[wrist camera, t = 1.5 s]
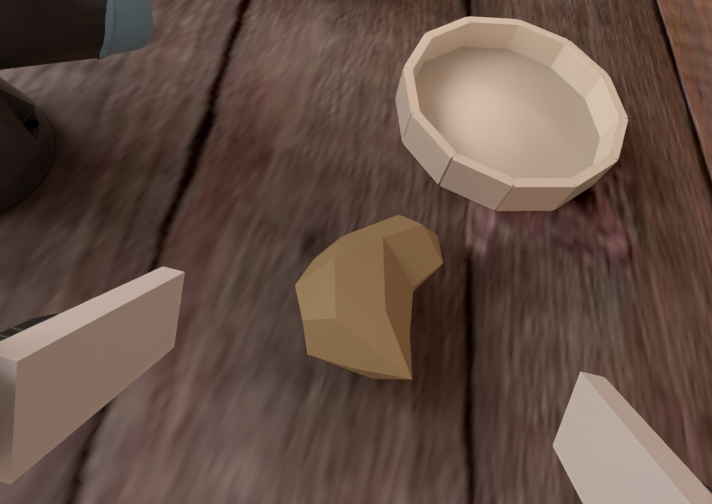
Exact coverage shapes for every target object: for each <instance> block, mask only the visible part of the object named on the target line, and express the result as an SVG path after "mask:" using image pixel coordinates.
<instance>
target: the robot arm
mask: <svg viewBox="0 0 712 504" xmlns="http://www.w3.org/2000/svg"><path fill="white" fill-rule="evenodd" d="M152 35H153V18H152V10H151V4H150V0H0V70H2V69H11V68H19V67H27V66H35V65H44V64H52V63H60V62H69V61H77V60H85V59H93V58H97V59H98V60H100V59H102V58H106V57H107V56H108V55H112V54H117V53H123V52H128V51H134V50H139V49H140V48H143V47H144V46H145V45H146V44H147V43H148V42H149V41H150V39H151V37H152ZM54 153H55V137H54V133H53V130H52V128H51V126H50V124H49V122H48V121H47V119H46V118H45V117H44V115H43V114H42V112H41V111H40V110H39V108H38V107H37V106H36V104H35V103H34V102H33V101H32V100H31V99H30V98H28V97H27V96H26V95H25V94H24V93H22V92H21V91H19V90H18V89H16V88H15V87H14V86H12V85H11V84H9V83H8V82H6V81H5V80H4V79H2V78H1V77H0V212H2V211H4V210H6V209H7V208H9V207H11V206H12V205H14V204H16V203H17V202H19V201H20V200H21V199H23V198H24V197H25V196H26V195H28V194H29V193H30V192H31V191H32V190H33V189H34V188H35V187H36V186H37V185H38V184H39V183H40V181H41V180H42V179H43V177H44V176H45V175H46V173H47V171H48V169H49V168H50V165H51V163H52V160H53V157H54ZM184 274H185V272H183V271H179V270H175V269H171V268H167V267H161V268H158V269H156V270H154V271H152V272H150V273H148V274H145V275H143V276H141V277H139V278H137V279H135V280H132V281H130V282H128V283H126V284H124V285H121V286H119V287H117V288H115V289H113V290H111V291H108V292H106V293H104V294H102V295H100V296H98V297H95V298H93V299H91V300H89V301H87V302H85V303H82V304H80V305H78V306H76V307H74V308H72V309H69V310H67V311H65V312H63V313H61V314H59V315H58V314H52V315H48V316H43V317H38V318H34V319H31V320H29V321H26V322H24V323H22V324H19V325H17V326H15V327H14V329H11V328H10V329H8V330H6V331H4V332H1V333H0V482H2V483H6V484H12V483H13V482H14V481H15V480H16V479H18V478H19V477H20V476H21V475H22V474H24V473H25V472H26V471H27V470H28V469H30V468H31V467H32V466H33V465H34V464H35V463H37V462H38V461H39V460H40V459H41V458H43V457H44V456H45V455H46V454H47V453H49V452H50V451H51V450H52V449H53V448H55V447H56V446H57V445H58V444H59V443H61V442H62V441H63V440H64V439H65V438H66V437H68V436H69V435H70V434H71V433H72V432H74V431H75V430H76V429H77V428H78V427H80V426H81V425H82V424H83V423H84V422H86V421H87V420H88V419H89V418H90V417H92V416H93V415H94V414H95V413H96V412H98V411H99V410H100V409H101V408H102V407H103V406H105V405H106V404H107V403H108V402H109V401H111V400H112V399H113V398H114V397H115V396H117V395H118V394H119V393H120V392H121V391H123V390H124V389H125V388H126V387H127V386H129V385H130V384H131V383H132V382H133V381H134V380H136V379H137V378H138V377H139V376H140V375H142V374H143V373H144V372H145V371H146V370H148V369H149V368H150V367H151V366H152V365H154V364H155V363H156V362H157V361H158V360H160V359H161V358H162V357H163V356H164V355H165V354H167V353H168V352H169V351H170V350H171V349H173V348H174V344H175V337H176V330H177V323H178V316H179V309H180V302H181V295H182V288H183V281H184ZM553 447H554V449H555V451H556V453H557V455H558V457H559V459H560V461H561V463H562V465H563V467H564V468H565V470H566V472H567V474H568V476H569V478H570V480H571V482H572V484H573V486H574V488H575V490H576V491H577V493H578V495H579V497H580V499H581V501H582V503H583V504H712V489H711V488H709V487H708V486H707V485H705V484H704V483H703V482H701V481H700V480H699V479H698V478H697V477H696V476H695V475H694V474H693V473H692V472H691V471H690V470H689V469H688V468H687V466H686V465H685V464H684V463H683V462H682V461H681V460H680V459H679V458H678V457H677V456H676V454H675V453H674V452H673V451H672V450H671V449H670V448H669V447H668V446H667V445H666V444H665V443H664V441H663V440H662V439H661V438H660V437H659V436H658V435H657V434H656V433H655V432H654V431H653V429H652V428H651V427H650V426H649V425H648V424H647V423H646V422H645V421H644V420H643V419H642V417H641V416H640V415H639V414H638V413H637V412H636V411H635V410H634V409H633V408H632V407H631V405H630V404H629V403H628V402H627V401H626V400H625V399H624V398H623V397H622V396H621V395H620V394H619V392H618V391H617V390H616V389H615V388H614V387H613V386H612V385H611V384H610V383H609V382H608V380H607V379H606V378H605V377H601V376H597V375H593V374H589V373H585V372H581V371H580V374H579V377H578V379H577V382H576V385H575V387H574V390H573V393H572V395H571V398H570V401H569V403H568V406H567V409H566V411H565V414H564V417H563V419H562V422H561V425H560V427H559V430H558V433H557V435H556V438H555V441H554V443H553Z"/></svg>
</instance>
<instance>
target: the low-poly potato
mask: <svg viewBox="0 0 712 504" xmlns="http://www.w3.org/2000/svg"><path fill="white" fill-rule="evenodd" d="M442 264H443V260H442V255H441V251H440V246H439V242H438V237H437V235H436V234H435V233H433V232H432V231H431V230H429V229H428V228H427V227H425V226H424V225H422V224H420V223H418V222H415V221H413V220H410V219H408V218H406V217H403V216H401V215H396V216H394V217H391V218H388V219H386V220H383V221H381V222H378V223H375V224H373V225H370V226H367V227H365V228H362V229H360V230H357V231H354V232H352V233H349V234H346V235H344V236H342V237H340V238H339V239H338V240H337V241H336V242H334V243H333V244H332V245H331V246H329V247H328V248H327V249H326V250H325V251H323V252H322V253H321V254H320V255H318V256H317V257H316V258H315V259H314V260H313V261H312V262H311V264H310V265H309V266H308V268H307V269H306V271H305V272H304V273H303V275H302V276H301V278H300V279H299V280H298V282H297V283H296V285H295V288H296V292H297V297H298V302H299V306H300V311H301V316H302V320H303V327H304V334H305V341H306V348H307V354H308V355H311V356H313V357H316V358H318V359H321V360H324V361H326V362H329V363H331V364H334V365H337V366H339V367H342V368H345V369H347V370H350V371H353V372H355V373H358V374H360V375H363V376H366V377H368V378H371V379H409V380H412V366H411V348H410V326H411V312H412V298H413V291H415V290H416V289H417V288H418V287H419V286H420V285H421V284H422V283H423V282H424V281H425V280H426V279H427V278H428V277H429V276H430V275H431V274H433V273H434V272H435V271H436V270H437V269H438V268H439V267H440V266H441V265H442Z"/></svg>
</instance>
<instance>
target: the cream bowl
mask: <svg viewBox="0 0 712 504" xmlns="http://www.w3.org/2000/svg"><path fill="white" fill-rule="evenodd" d="M396 106H397V113H398V119H399V126H400V132H401V139H402V142H403V144H404V145H405V147H406V148H407V149H408V150H409V151H410V152H411V154H412V155H413V156H414V157H415V158H416V160H417V161H418V162H419V163H420V164H421V165H422V167H423V168H424V169H425V170H426V171H427V172H428V174H429V175H430V176H431V177H432V178H433V179H434V181H435V182H436V183H437V184H439V183H440V186H441V187H443V188H446V189H448V190H450V191H452V192H454V193H457V194H459V195H461V196H463V197H465V198H468V199H470V200H472V201H474V202H476V203H478V204H481V205H483V206H485V207H487V208H489V209H492V210H494V211H495V209H496V211H553V210H555V209H557V208H559V207H560V206H562V205H563V204H565V203H566V202H568V201H569V200H571V199H572V198H574V197H576V196H577V195H579V194H580V193H582V192H583V191H585V190H586V189H588V188H590V187H591V186H592V185H593V184H594V183H596V182H597V181H598V180H599V179H600V178H601V177H602V176H603V175H604V174H605V173H606V172H607V171H608V170H609V169H610V168H611V167H612V166H613V165H614V164H615V163H616V162H617V161H618V159H619V155H620V151H621V147H622V143H623V139H624V135H625V131H626V127H627V123H628V117H627V114H626V112H625V110H624V108H623V105H622V103H621V101H620V99H619V96H618V94H617V92H616V89H615V87H614V85H613V83H612V80H611V78H610V76H608V74H607V73H606V72H605V71H604V70H603V69H602V68H600V67H599V66H598V65H597V64H596V63H595V62H594V61H593V60H591V59H590V58H589V57H588V56H587V55H586V54H585V53H583V52H582V51H581V50H580V49H579V48H578V47H577V46H576V45H574V44H573V43H572V42H571V41H568V39H566V38H563V37H561V36H558V35H556V34H553V33H551V32H549V31H546V30H544V29H541V28H539V27H536V26H534V25H531V24H529V23H527V22H524V21H522V20H519V22H518V19H505V18H486V17H468V18H467V17H464V18H462V19H459V20H457V21H454V22H452V23H449V24H447V25H444V26H442V27H439V28H437V29H434V30H432V31H429V32H426V34H424V35H423V37H422V39H421V40H420V42H419V43H418V45H417V47H416V48H415V50H414V51H413V53H412V54H411V56H410V58H409V59H408V61H407V62H406V64H405V66H404V67H403V71H402V75H401V79H400V83H399V87H398V91H397V95H396Z"/></svg>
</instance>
